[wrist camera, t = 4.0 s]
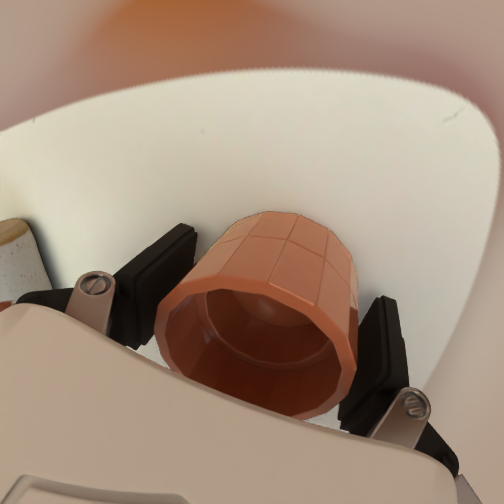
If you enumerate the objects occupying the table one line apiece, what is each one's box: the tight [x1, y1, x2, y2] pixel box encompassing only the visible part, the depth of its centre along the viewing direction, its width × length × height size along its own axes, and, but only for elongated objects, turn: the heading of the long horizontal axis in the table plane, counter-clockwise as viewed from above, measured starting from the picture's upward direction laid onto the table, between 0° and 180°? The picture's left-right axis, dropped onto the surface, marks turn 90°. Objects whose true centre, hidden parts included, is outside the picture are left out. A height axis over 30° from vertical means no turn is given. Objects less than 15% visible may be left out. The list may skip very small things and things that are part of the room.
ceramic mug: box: [0, 218, 53, 303], centre depth 15 cm, size 11×8×8 cm
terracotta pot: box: [154, 212, 358, 421], centre depth 10 cm, size 6×6×5 cm
